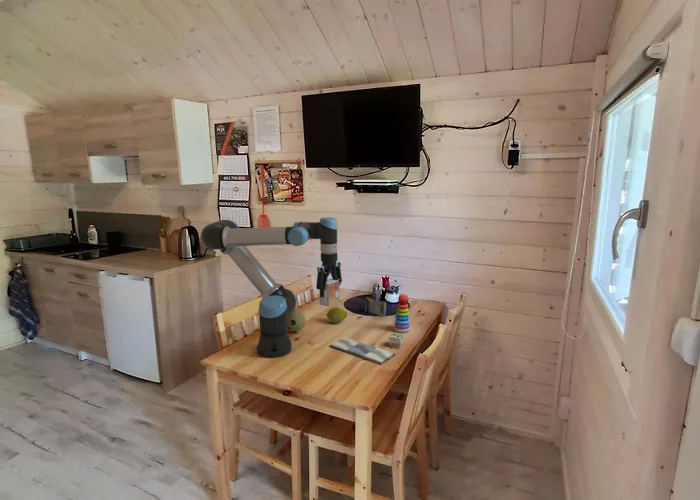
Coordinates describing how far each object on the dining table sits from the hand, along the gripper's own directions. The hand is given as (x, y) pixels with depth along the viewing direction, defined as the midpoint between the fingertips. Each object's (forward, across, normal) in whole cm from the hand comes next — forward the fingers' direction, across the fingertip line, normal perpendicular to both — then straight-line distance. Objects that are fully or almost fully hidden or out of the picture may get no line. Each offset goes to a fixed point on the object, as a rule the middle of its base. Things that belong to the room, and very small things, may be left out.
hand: (329, 300), depth 190 cm
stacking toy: (+20, +31, -21) cm, 42 cm away
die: (+20, +14, -27) cm, 36 cm away
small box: (+2, 0, 0) cm, 2 cm away
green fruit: (+20, +19, +12) cm, 30 cm away
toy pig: (+19, -3, +21) cm, 29 cm away
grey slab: (+20, +42, +2) cm, 46 cm away
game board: (+19, 0, -18) cm, 27 cm away
